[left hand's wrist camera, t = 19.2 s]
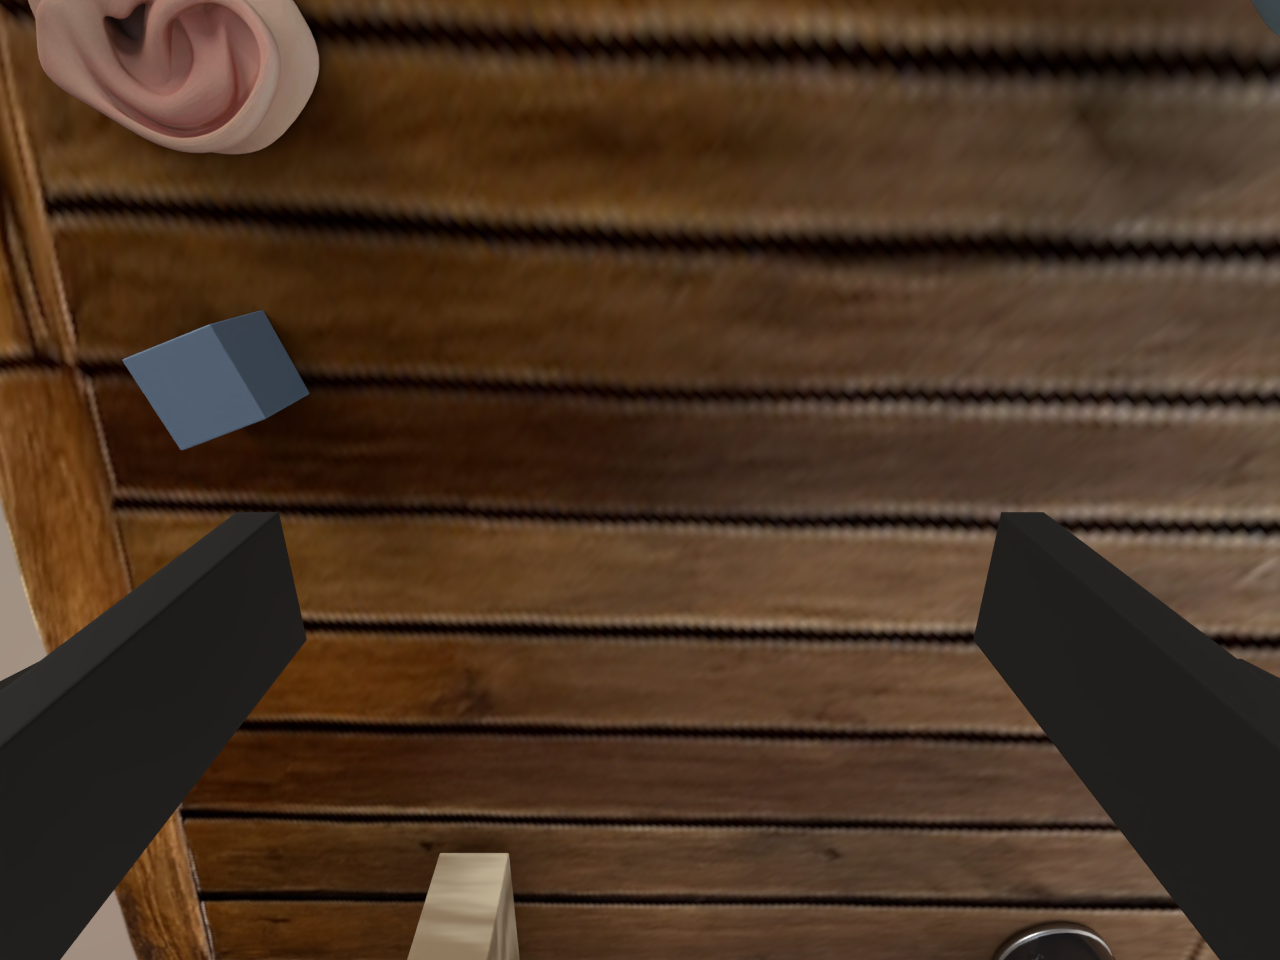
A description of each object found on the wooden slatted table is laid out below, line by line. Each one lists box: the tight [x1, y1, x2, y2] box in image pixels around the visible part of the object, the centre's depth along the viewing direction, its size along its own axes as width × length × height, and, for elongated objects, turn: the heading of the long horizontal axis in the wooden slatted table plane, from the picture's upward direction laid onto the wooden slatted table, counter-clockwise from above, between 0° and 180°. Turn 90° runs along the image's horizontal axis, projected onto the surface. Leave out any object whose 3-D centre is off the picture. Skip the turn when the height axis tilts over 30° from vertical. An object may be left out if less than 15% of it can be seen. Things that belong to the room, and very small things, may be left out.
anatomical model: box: [28, 0, 319, 154], centre depth 30 cm, size 13×4×12 cm
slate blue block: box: [123, 310, 309, 450], centre depth 36 cm, size 5×5×5 cm
